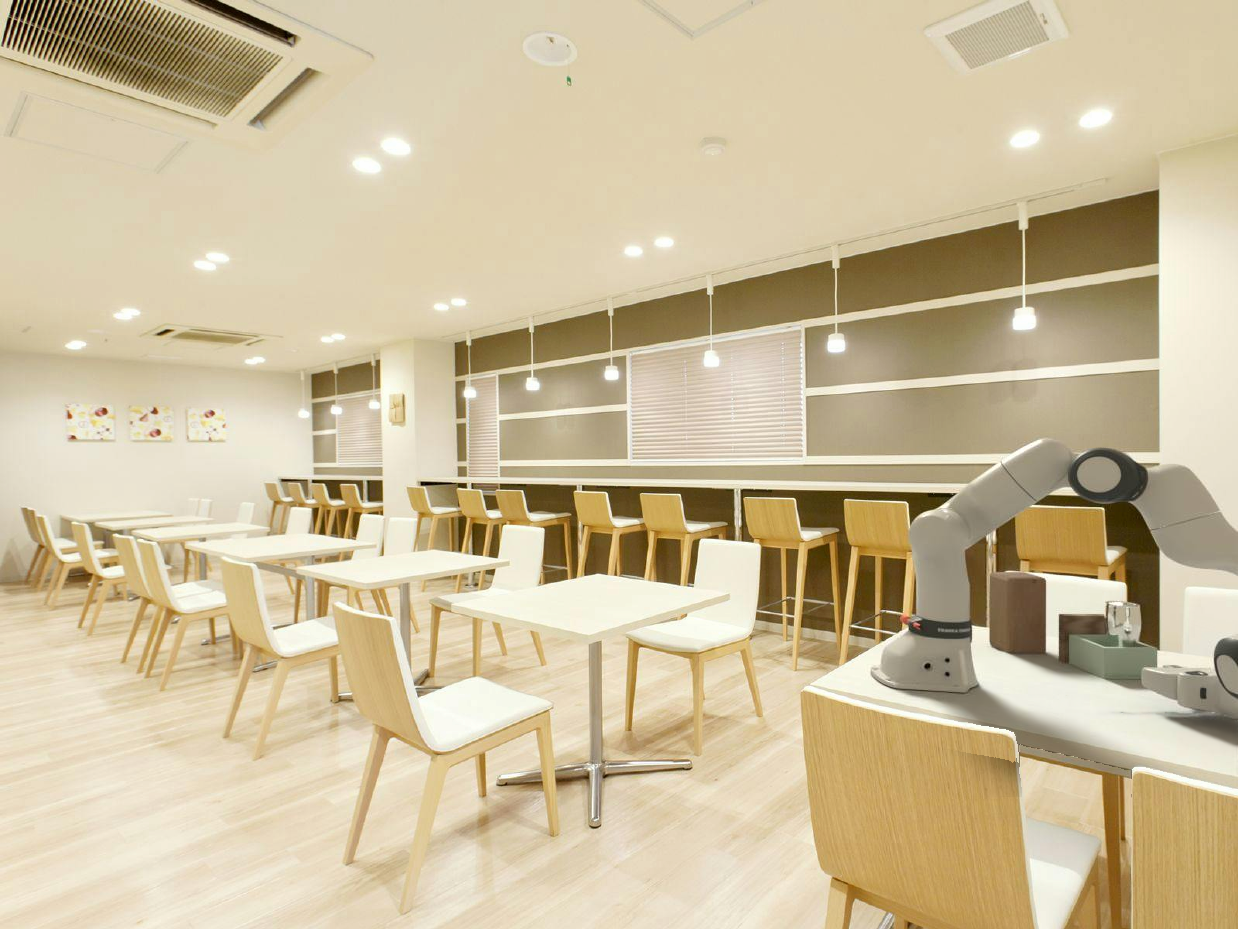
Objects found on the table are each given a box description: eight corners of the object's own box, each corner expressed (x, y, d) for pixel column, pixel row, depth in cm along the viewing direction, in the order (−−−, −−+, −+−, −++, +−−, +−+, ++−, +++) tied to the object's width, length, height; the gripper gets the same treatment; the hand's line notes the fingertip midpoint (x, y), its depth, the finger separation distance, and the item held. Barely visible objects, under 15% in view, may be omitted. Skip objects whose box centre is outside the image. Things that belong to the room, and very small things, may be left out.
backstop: (1118, 690, 146) (1119, 635, 146) (1058, 662, 166) (1058, 614, 166) (1183, 690, 146) (1183, 635, 146) (1115, 662, 166) (1115, 614, 166)
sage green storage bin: (1104, 679, 152) (1104, 648, 152) (1068, 663, 164) (1068, 634, 164) (1157, 679, 152) (1157, 648, 152) (1118, 663, 164) (1118, 634, 164)
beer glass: (1148, 672, 153) (1148, 607, 153) (1114, 671, 154) (1115, 606, 154) (1128, 663, 160) (1129, 601, 160) (1097, 662, 161) (1097, 600, 161)
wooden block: (1047, 655, 172) (1048, 577, 172) (1008, 655, 172) (1008, 577, 172) (1024, 645, 182) (1024, 571, 182) (987, 645, 182) (987, 571, 182)
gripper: (1284, 675, 127) (1219, 654, 141) (1176, 674, 127) (1121, 653, 141) (1283, 708, 127) (1219, 684, 141) (1175, 707, 127) (1121, 683, 141)
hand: (1169, 668), depth 141 cm, fingers closed
